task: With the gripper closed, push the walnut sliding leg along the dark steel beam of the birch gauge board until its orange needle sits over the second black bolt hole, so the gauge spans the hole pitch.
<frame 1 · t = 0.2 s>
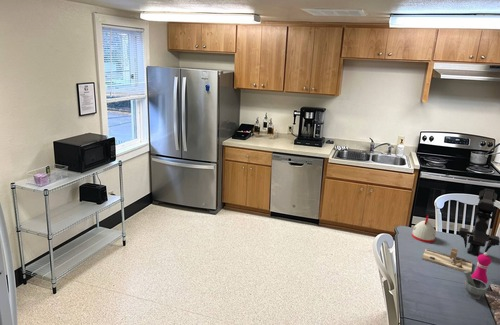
hand: (475, 250, 199), 14 cm above the table, tool pointing down, fingers open, 9 cm apart
sliding leg: (453, 255, 210), point 4 cm above the table, slide at 0.0 cm
gauge board: (446, 261, 212), on the table
pepper mill: (477, 286, 190), on the table
white dome: (423, 237, 240), on the table
mortar and pestle: (471, 295, 183), on the table
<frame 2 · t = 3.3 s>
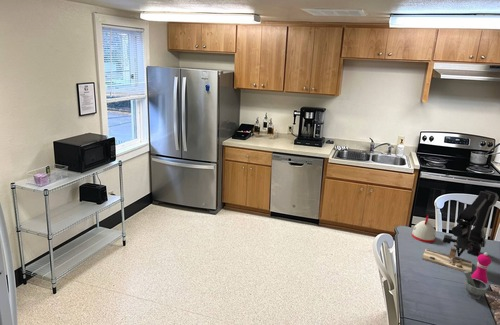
hand: (458, 256, 211), 4 cm above the table, tool pointing down, fingers closed
sliding leg: (452, 255, 211), point 4 cm above the table, slide at 0.5 cm, touching gripper
everything else where it was.
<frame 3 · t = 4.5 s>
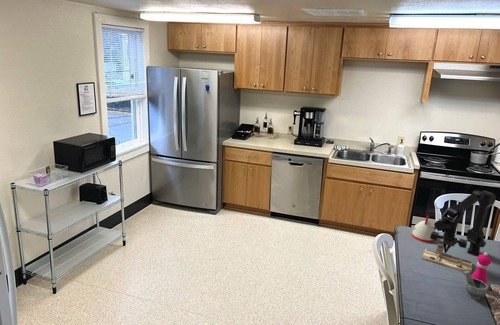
hand: (445, 252, 214), 4 cm above the table, tool pointing down, fingers closed
sliding leg: (439, 251, 214), point 4 cm above the table, slide at 7.4 cm, touching gripper
everything else where it was.
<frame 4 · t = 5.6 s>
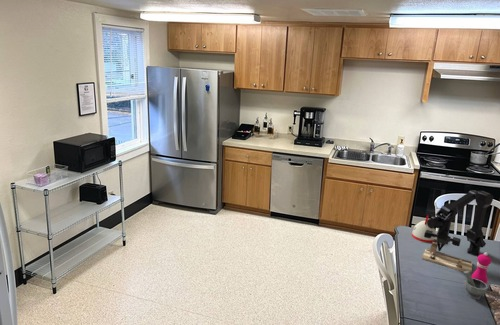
hand: (439, 250, 216), 4 cm above the table, tool pointing down, fingers closed
sliding leg: (433, 249, 216), point 4 cm above the table, slide at 10.7 cm, touching gripper
everything else where it was.
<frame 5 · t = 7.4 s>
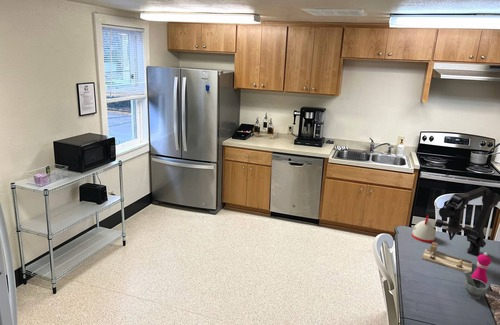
hand: (450, 239, 214), 12 cm above the table, tool pointing down, fingers closed
sliding leg: (433, 249, 216), point 4 cm above the table, slide at 10.7 cm
everything else where it was.
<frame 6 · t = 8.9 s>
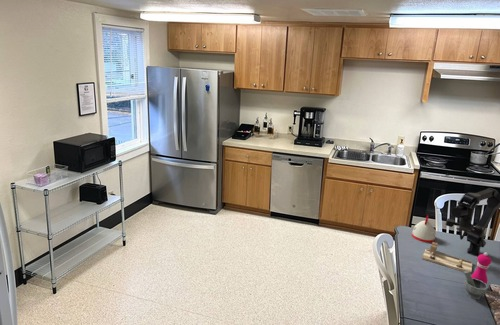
hand: (461, 239, 214), 12 cm above the table, tool pointing down, fingers closed
nothing on the table moved.
at the end: sliding leg slide at 10.7 cm; pepper mill moved 0.2 cm from its start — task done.
